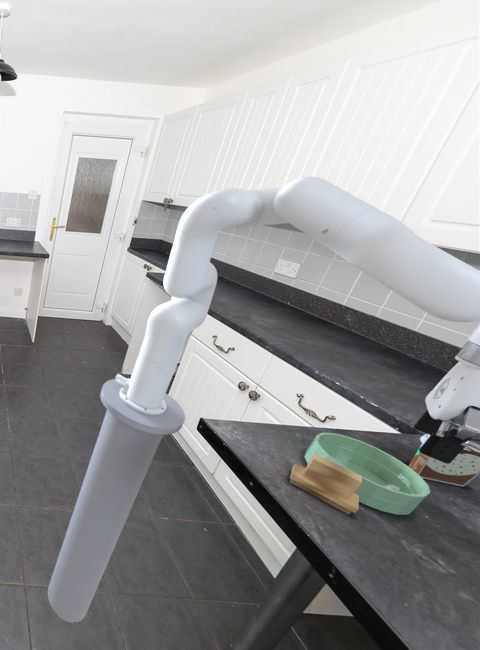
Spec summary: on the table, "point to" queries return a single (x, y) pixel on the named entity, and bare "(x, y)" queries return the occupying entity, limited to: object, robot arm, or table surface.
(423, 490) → the bowl
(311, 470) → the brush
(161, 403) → the robot arm
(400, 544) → the table surface
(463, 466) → the food container
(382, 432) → the table surface
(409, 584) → the table surface
